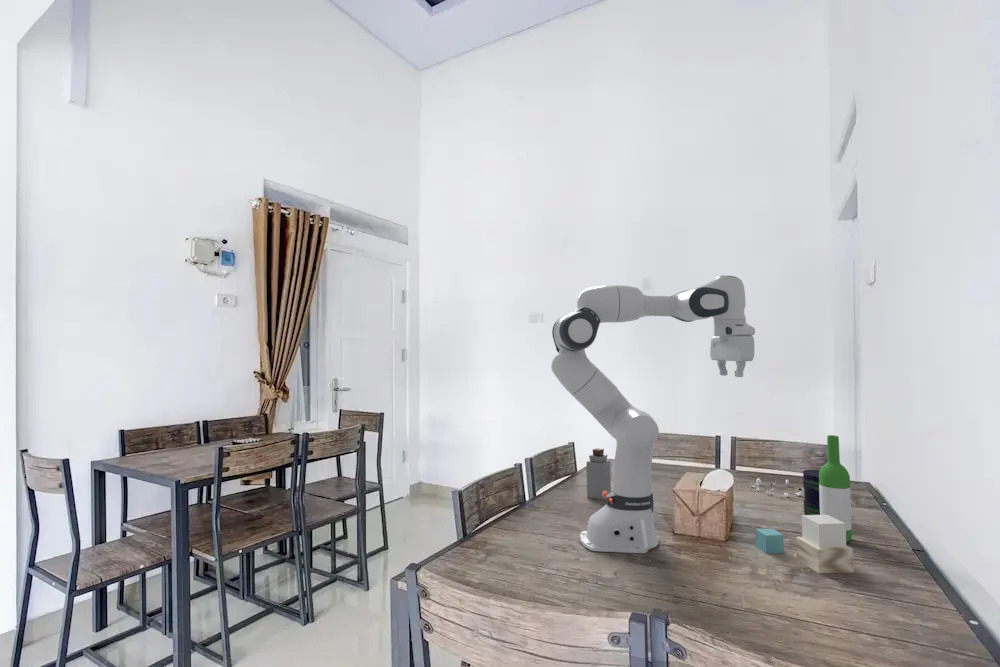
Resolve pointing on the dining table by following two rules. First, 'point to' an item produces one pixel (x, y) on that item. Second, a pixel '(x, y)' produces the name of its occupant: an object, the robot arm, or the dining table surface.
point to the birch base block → (824, 557)
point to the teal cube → (769, 541)
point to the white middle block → (824, 531)
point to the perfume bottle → (598, 474)
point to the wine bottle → (835, 487)
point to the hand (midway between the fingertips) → (731, 376)
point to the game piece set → (773, 488)
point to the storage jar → (811, 492)
